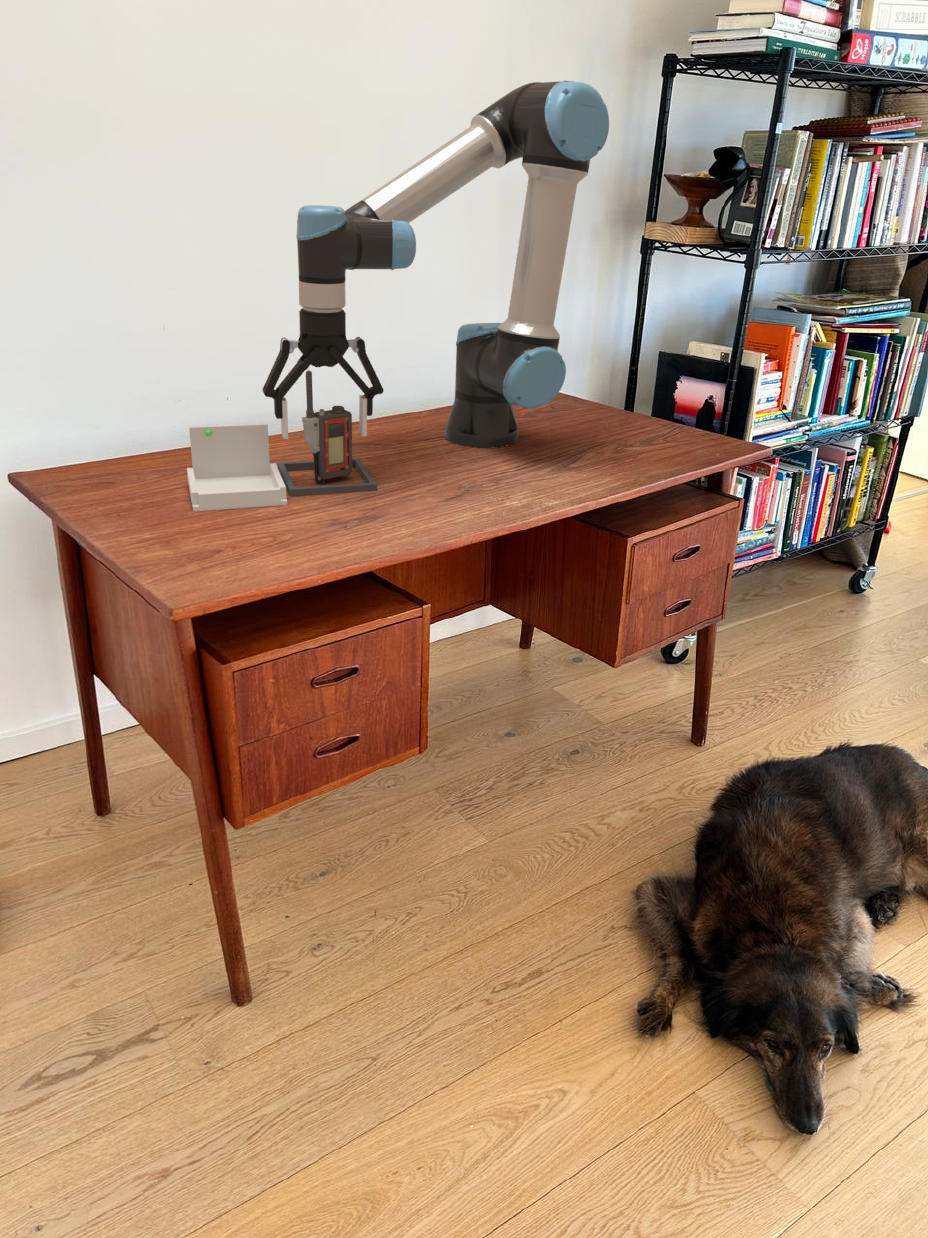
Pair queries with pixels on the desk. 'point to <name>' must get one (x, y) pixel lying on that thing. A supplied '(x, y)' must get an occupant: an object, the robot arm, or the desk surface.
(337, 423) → the walkie-talkie
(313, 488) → the grey square frame
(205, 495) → the dock
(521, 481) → the desk surface
